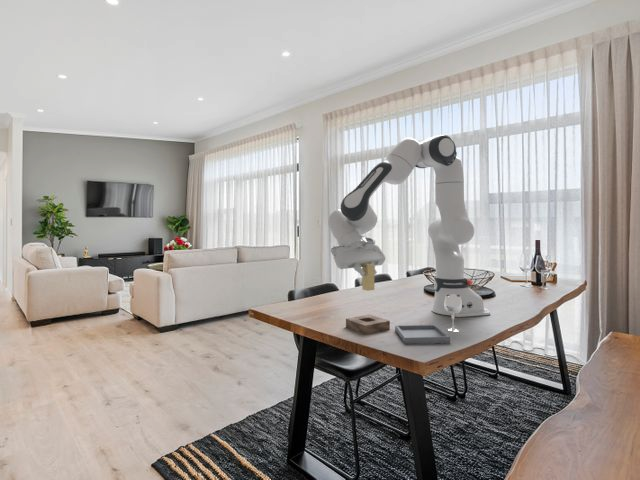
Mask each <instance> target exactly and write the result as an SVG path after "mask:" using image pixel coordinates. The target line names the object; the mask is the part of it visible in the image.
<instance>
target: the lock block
mask: <svg viewBox="0 0 640 480" xmlns="http://www.w3.org/2000/svg"><path fill="white" fill-rule="evenodd" d="M345 327H346V328H348V329H350V330H353V331H356V332H358V333H360V334H363V335H368V334H373V333H378V332H383V331H388V330H390V329H391V328H390V327H391V321H390V320H389V319H385V318H382V317H379V316H376V315H373V314H364V315H359V316H353V317H348V318H345Z"/></svg>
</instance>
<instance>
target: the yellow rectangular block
mask: <svg viewBox="0 0 640 480" xmlns="http://www.w3.org/2000/svg"><path fill="white" fill-rule="evenodd" d="M361 268H362V269H363V270H365V271H366V272H367V274H366V276H361V278H362V279H361V280H362V281H361V283H362V285H361V286H362V289H361V290H363V291H375V275H374V264H362V267H361Z"/></svg>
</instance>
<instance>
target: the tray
mask: <svg viewBox="0 0 640 480" xmlns="http://www.w3.org/2000/svg"><path fill="white" fill-rule="evenodd" d="M394 328H395V329H394V331H395V333H396V334H397V336H398V337H399V338H400V340H401V341H402V343H403V344H404V345H423V344H424V345H430V344H434V345H436V344H435V343H441V344H451V337H450V335H448V334H447V333H446V331H444V330H442V329H441V328H440V327H439V326H438V325H437V324H395V326H394ZM429 343H430V344H429Z"/></svg>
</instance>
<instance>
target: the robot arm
mask: <svg viewBox="0 0 640 480" xmlns="http://www.w3.org/2000/svg"><path fill="white" fill-rule="evenodd" d="M457 154H458V151H457V146H456V143H455V141H454V140H453V138H452V137H451V136H449V135H446V134H438V135H435V136H432V137H429V138H426V139H424V140H423V141H418V140H416V139H414V138H412V137H405V138H403V139H402V140H401V141H400V142H398V144H397V145H396V146H394V148H393V149H392V151H391V152H390V153H389V154H388V155H387V157H386V158H385V160H384V161H382V162H379V163H377V164H376V165H375V166H374V167H373V168H372V169H371V170H370V171H369V173H368V174H367V175H366V176H365V177H364V179H362V180H361V182H360V183H359V184H358V185H357V186H356V187H355V188H354V189H353V190H352V191H350V192H349V193H347V195H345V196H344V198H343V199H342V201H341V202H340V208H339V209H336V210H333V212H331V214H329V216H328V227H329V229H330V232H331V234H332V235H333V237H334V239H335V240H336V241H337V244H338V246H336V245H335V246H334V245H333V246H332V247H331V248H330V252H331V254H332V256H333V259H334V263H335V265H336V267H337V268H338V269H340V270H345V269H354V271H356V273H358V274H359V275H360V276H361V277H362V276H366V274H367V272H366V271H365V270H363V269H362V264H374V276H375V275H376V274H377V270H376V267H377V266H382V265H383V264H384V263H385V261H386V256H385V254H384V252H383V251H382V249H381V248H380V247H379V245H377V244H376V240H375V239H374V238H372V237H367V236H364V235H363V234H365V233H367V232H370V231H372V230H373V229H374V228H375V226H376V225H377V222H378V216H377V214H376V211H374V209H373V208H372V206H371V204H370V199H371V197H372V196H373V195H374V194H375V192H376V191H377V189H379V187H381V185H382V184H384V183H387V184H390V185H393V186H394V185H395V186H396V185H400V184H403V183H404V182H405V181H406V180H407V179H408V178H409V177H410V175H411V173H412V172H413V170H414V169H415V168H417V169H426V168H427V169H428V168H432V169H433V170H434V174H435V181H434V183H435V184H434V185H435V187H434V188H435V189H434V192H435V193H434V196H435V205H436V206H437V208H438V211H439V215H440V218H436V219H435V220H433V221H432V222H431V223H430V224H429V226H428V228H427V229H428V235H429V237H430V239H431V243H432V248H433V252H434V257H435V277H434V280H433V281H434V282H433V284H434V285H433V288H434V298H433V299H434V300H433V303H432V307H431V311H432V312H433V313H435V314H439V315H443V316H450V317H452V314H450V313H448V312H447V311H446V310H445V307H444V302H445V297H446V295H448V294H455V295H460V297H461V301H462V309H461V311H460V312H459V313H457V314H454V318H462V317H463V318H464V317H477V316H479V317H480V316H488V315H491V310H489V309H488V308H486V307H485V305H484V299H483V298H482V296H481V295H480V294H478V293H477V292H476V291H474V290H472V288H471V287H469V286H472V285H473V284H474V282H473V280H471V279H467V278H465V259H464V256H463V255H462V252H461V250H460V246H461V245H464V244H467V243H469V242H470V241H471V240H473V238H474V235H475V228H474V225H473V223H472V222H471V221H470V219H469V216H468V212H467V209H466V204H465V186H464V185H465V184H464V183H465V179H464V178H465V177H464V169H463V164H462V163H463V162H462V161H461V159H460V158H459V157H458V156H457Z"/></svg>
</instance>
